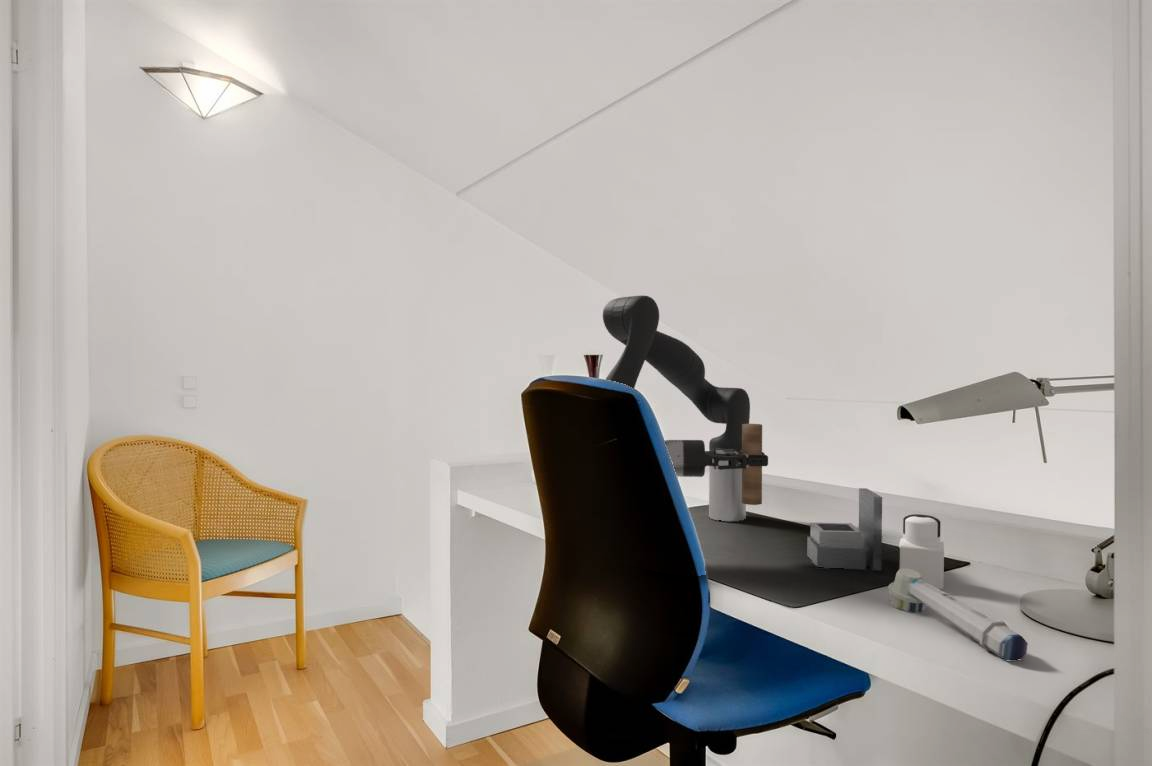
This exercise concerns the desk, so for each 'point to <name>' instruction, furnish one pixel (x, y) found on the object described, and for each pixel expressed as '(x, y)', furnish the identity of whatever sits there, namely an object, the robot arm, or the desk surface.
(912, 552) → the medicine bottle
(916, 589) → the toothbrush head
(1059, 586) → the desk surface
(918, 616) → the desk surface
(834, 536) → the cup bracket
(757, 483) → the brown wooden cylinder
